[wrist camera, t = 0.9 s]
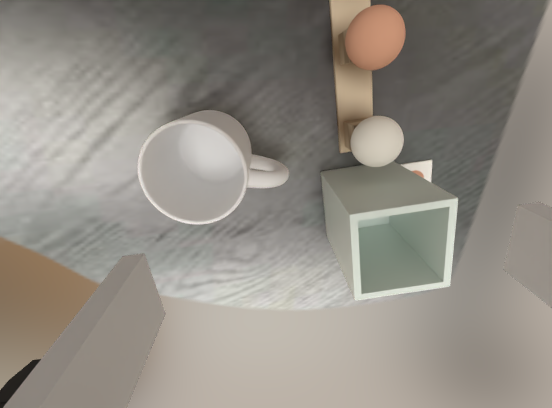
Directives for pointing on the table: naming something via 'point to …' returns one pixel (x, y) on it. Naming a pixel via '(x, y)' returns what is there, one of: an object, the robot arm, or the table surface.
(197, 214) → the mug
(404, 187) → the grey-green tall hollow box
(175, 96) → the table surface
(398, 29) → the ball
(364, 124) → the ball
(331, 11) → the rack
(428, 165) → the card
